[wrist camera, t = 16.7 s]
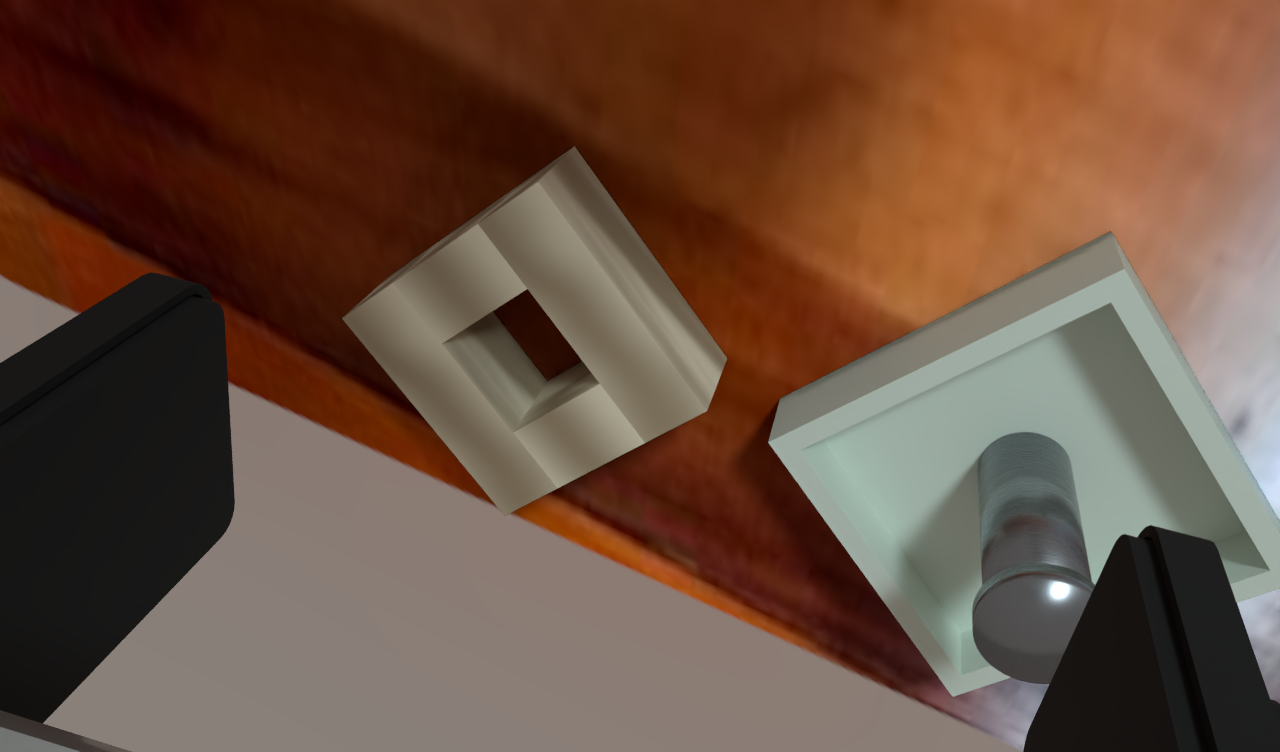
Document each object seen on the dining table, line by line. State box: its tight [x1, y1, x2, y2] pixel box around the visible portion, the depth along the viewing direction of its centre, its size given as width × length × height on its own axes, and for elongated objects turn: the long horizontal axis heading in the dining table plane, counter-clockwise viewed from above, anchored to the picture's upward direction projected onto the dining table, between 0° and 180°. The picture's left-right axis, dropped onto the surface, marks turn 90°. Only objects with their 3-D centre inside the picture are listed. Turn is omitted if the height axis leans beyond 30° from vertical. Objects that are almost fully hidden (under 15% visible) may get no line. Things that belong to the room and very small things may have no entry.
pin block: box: [342, 146, 727, 515], centre depth 51 cm, size 12×12×5 cm
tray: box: [768, 231, 1280, 697], centre depth 48 cm, size 16×16×4 cm
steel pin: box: [972, 432, 1095, 684], centre depth 45 cm, size 5×5×11 cm
